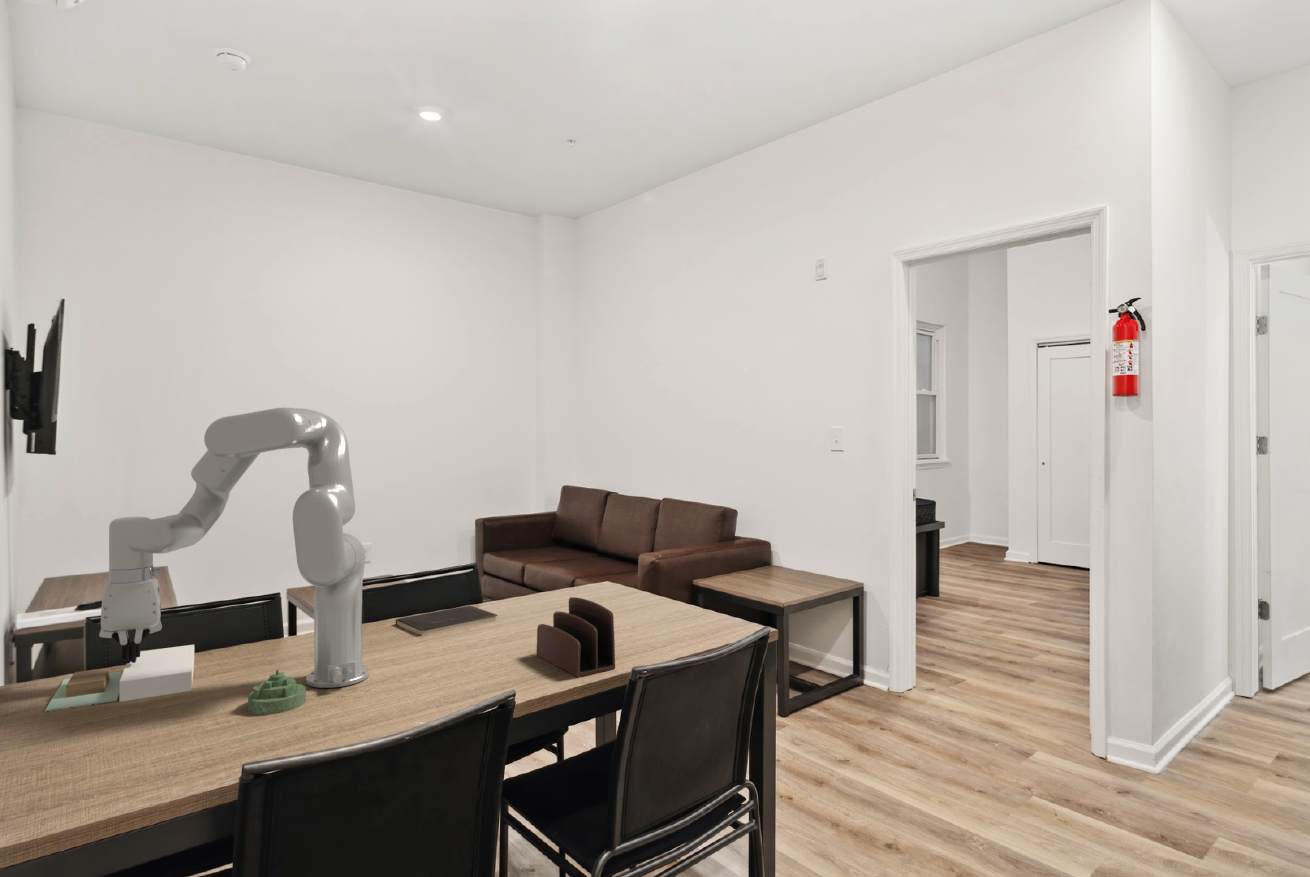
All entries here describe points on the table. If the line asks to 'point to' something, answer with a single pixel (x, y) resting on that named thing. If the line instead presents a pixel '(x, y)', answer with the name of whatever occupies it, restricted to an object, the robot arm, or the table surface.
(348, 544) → the robot arm
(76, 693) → the walnut tile
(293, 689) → the decorative artifact
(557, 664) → the letter holder
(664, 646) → the table surface
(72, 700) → the mat
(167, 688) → the block
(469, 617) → the hardcover book
